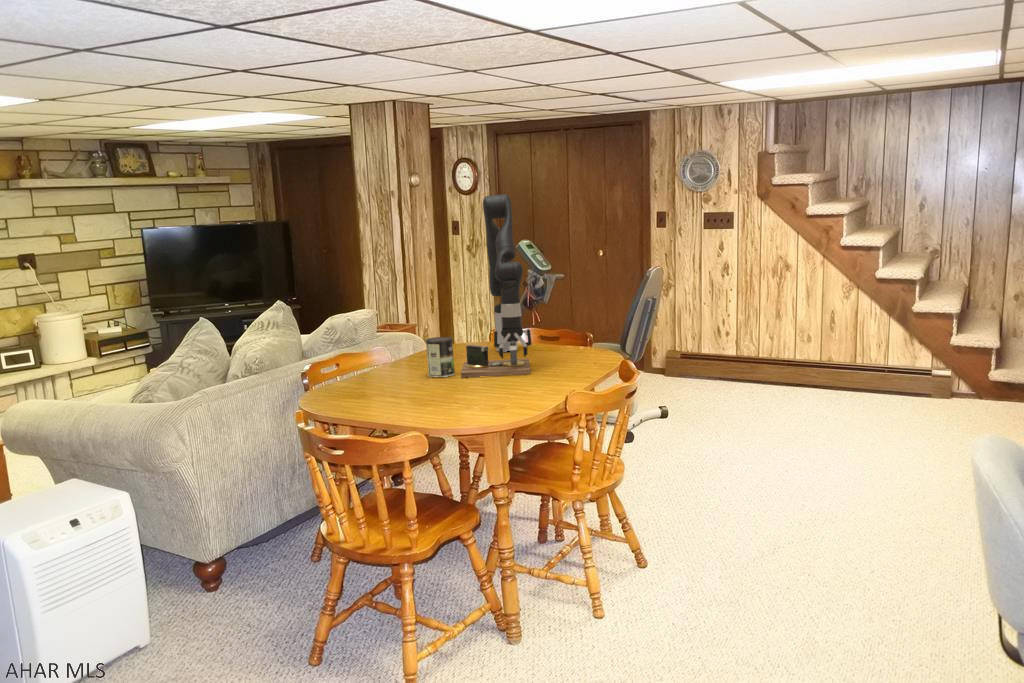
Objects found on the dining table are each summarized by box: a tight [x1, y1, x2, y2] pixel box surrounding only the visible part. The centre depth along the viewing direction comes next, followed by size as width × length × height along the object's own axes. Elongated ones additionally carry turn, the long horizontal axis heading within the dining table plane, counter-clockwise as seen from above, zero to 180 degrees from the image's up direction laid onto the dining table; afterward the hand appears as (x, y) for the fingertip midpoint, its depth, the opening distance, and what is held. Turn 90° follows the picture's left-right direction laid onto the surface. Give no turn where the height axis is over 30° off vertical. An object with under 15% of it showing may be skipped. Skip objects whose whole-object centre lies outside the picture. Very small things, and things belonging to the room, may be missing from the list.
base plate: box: [460, 358, 531, 379], centre depth 314 cm, size 22×26×3 cm
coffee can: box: [425, 336, 456, 378], centre depth 311 cm, size 10×10×14 cm
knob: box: [504, 342, 524, 367], centre depth 314 cm, size 9×8×8 cm
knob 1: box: [465, 344, 489, 369], centre depth 314 cm, size 9×8×8 cm
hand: (513, 357), depth 311 cm, fingers open, 8 cm apart
